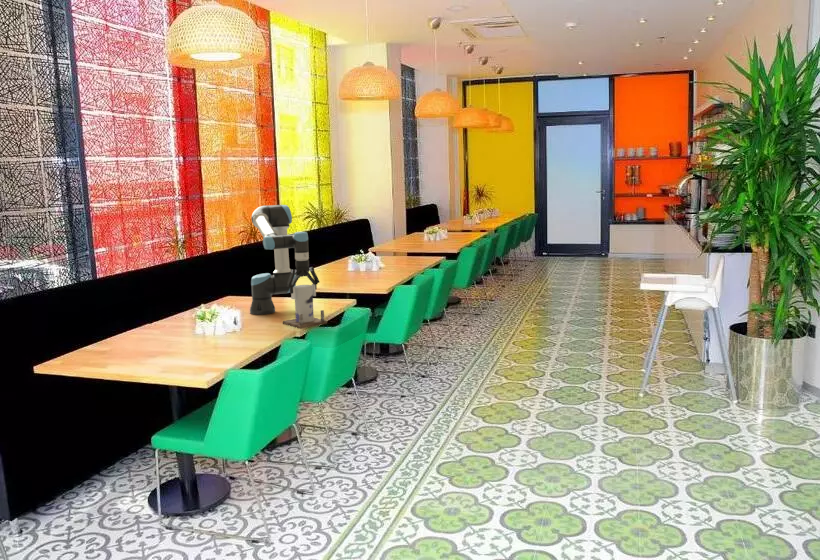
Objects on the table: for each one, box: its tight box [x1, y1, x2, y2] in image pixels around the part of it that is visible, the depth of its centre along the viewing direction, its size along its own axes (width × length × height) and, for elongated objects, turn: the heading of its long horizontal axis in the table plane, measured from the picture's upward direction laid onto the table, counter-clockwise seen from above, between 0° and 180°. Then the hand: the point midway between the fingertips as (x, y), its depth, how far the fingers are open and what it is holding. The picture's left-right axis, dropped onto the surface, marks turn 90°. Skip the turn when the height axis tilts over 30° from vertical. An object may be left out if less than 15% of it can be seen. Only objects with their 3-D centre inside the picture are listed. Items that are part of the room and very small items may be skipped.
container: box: [294, 284, 315, 323], centre depth 411 cm, size 10×10×20 cm
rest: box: [282, 310, 328, 329], centre depth 412 cm, size 18×18×8 cm
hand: (303, 297), depth 410 cm, fingers open, 13 cm apart
